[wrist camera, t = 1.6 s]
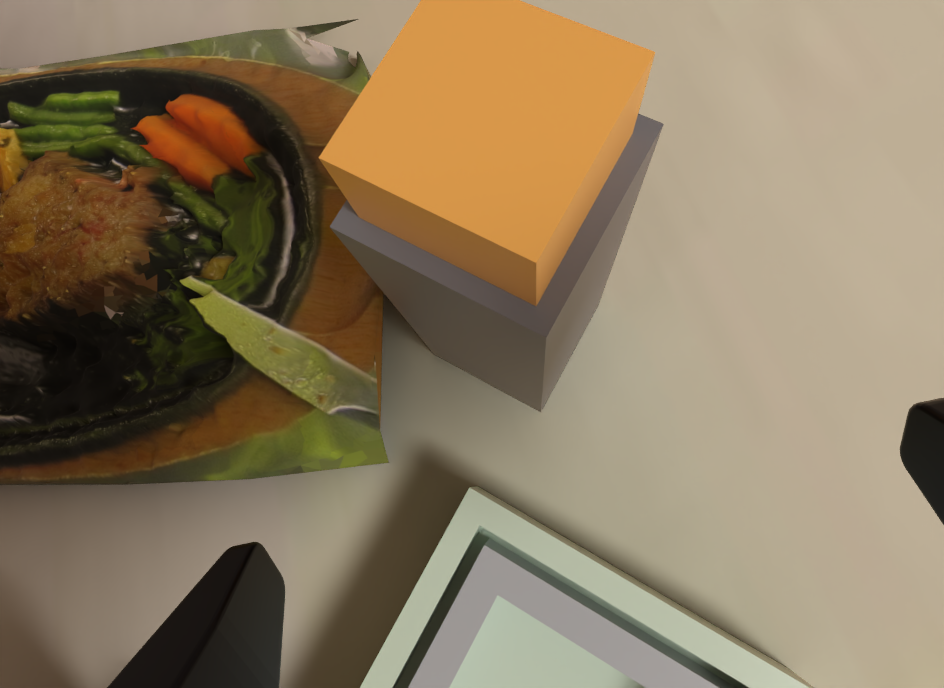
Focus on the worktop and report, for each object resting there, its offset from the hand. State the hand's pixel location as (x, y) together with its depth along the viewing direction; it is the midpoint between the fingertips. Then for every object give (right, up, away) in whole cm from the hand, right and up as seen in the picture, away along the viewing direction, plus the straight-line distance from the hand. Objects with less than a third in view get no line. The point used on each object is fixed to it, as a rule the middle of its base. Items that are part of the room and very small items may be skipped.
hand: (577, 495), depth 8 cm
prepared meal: (-18, +5, +16) cm, 25 cm away
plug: (0, +3, +13) cm, 13 cm away
